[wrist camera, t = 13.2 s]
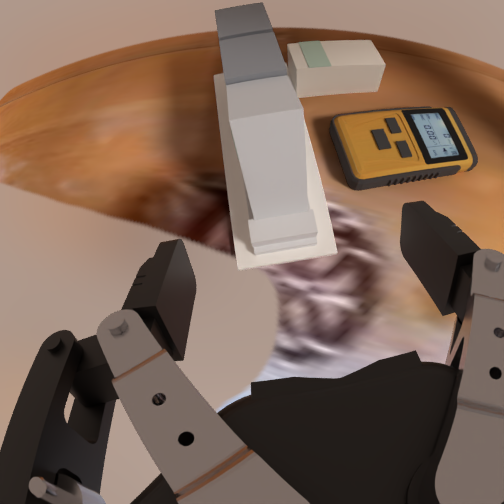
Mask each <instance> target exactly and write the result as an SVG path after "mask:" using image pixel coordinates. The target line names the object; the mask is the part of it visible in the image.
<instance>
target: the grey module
mask: <svg viewBox="0 0 504 504" xmlns="http://www.w3.org/2000/svg"><path fill="white" fill-rule="evenodd" d="M226 89H227V101H228V114H229V122H230V126H231V134H232V137H233V141H234V145H235V149H236V153H237V157H238V160H239V161H240V165H241V169H242V173H243V177H244V181H245V185H246V189H247V193H248V197H249V201H250V205H251V209H252V213H253V217H254V220H258V219H264V218H270V217H276V216H282V215H287V214H293V213H300V212H306V211H308V199H307V169H306V147H305V128H304V112H303V107H302V105H301V103H300V100H299V98H298V96H297V94H296V92H295V90H294V87H293V85H292V83H291V81H290V79H289V77H288V75H285V76H277V77H270V78H264V79H257V80H252V81H246V82H240V83H235V84H230V85H226Z"/></svg>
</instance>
